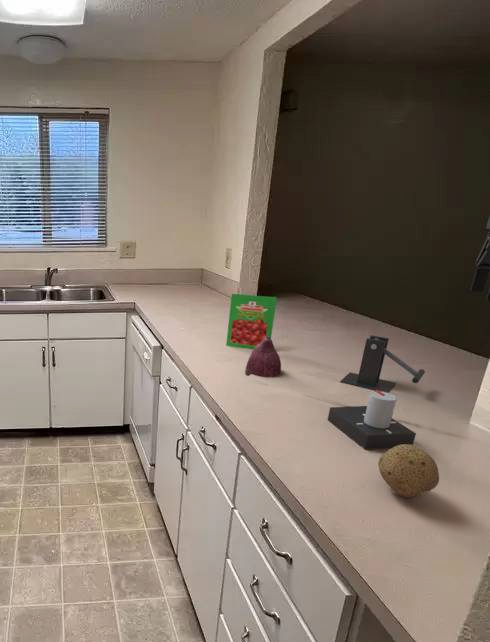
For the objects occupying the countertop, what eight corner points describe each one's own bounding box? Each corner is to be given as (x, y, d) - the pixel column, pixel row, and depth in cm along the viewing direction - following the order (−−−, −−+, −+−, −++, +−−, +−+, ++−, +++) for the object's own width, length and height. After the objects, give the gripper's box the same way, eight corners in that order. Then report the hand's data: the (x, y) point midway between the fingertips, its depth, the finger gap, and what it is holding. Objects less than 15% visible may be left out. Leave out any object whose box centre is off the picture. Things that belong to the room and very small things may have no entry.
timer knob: (394, 428, 97) (402, 398, 94) (373, 429, 97) (380, 399, 94) (379, 417, 102) (386, 389, 99) (358, 418, 101) (365, 390, 99)
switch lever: (420, 376, 121) (427, 370, 120) (414, 385, 115) (421, 379, 114) (372, 340, 127) (379, 334, 126) (364, 347, 121) (371, 341, 120)
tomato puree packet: (225, 346, 165) (231, 294, 158) (226, 345, 166) (232, 293, 159) (268, 351, 158) (276, 297, 151) (269, 350, 159) (276, 297, 152)
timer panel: (412, 447, 96) (416, 432, 95) (364, 449, 95) (368, 434, 94) (369, 418, 109) (372, 404, 108) (327, 419, 108) (330, 406, 107)
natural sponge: (360, 482, 84) (371, 437, 81) (398, 475, 86) (410, 431, 83) (402, 512, 76) (416, 463, 73) (442, 504, 78) (458, 456, 74)
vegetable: (274, 391, 133) (287, 351, 124) (240, 381, 137) (250, 342, 128) (281, 373, 140) (293, 334, 131) (248, 364, 144) (258, 325, 135)
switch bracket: (394, 387, 127) (407, 338, 122) (386, 397, 120) (399, 347, 115) (349, 376, 135) (358, 330, 130) (338, 385, 128) (348, 338, 123)
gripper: (552, 214, 98) (520, 306, 106) (510, 212, 119) (486, 288, 127) (509, 214, 101) (481, 303, 109) (475, 212, 122) (454, 287, 130)
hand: (484, 295), depth 118 cm, fingers open, 13 cm apart
